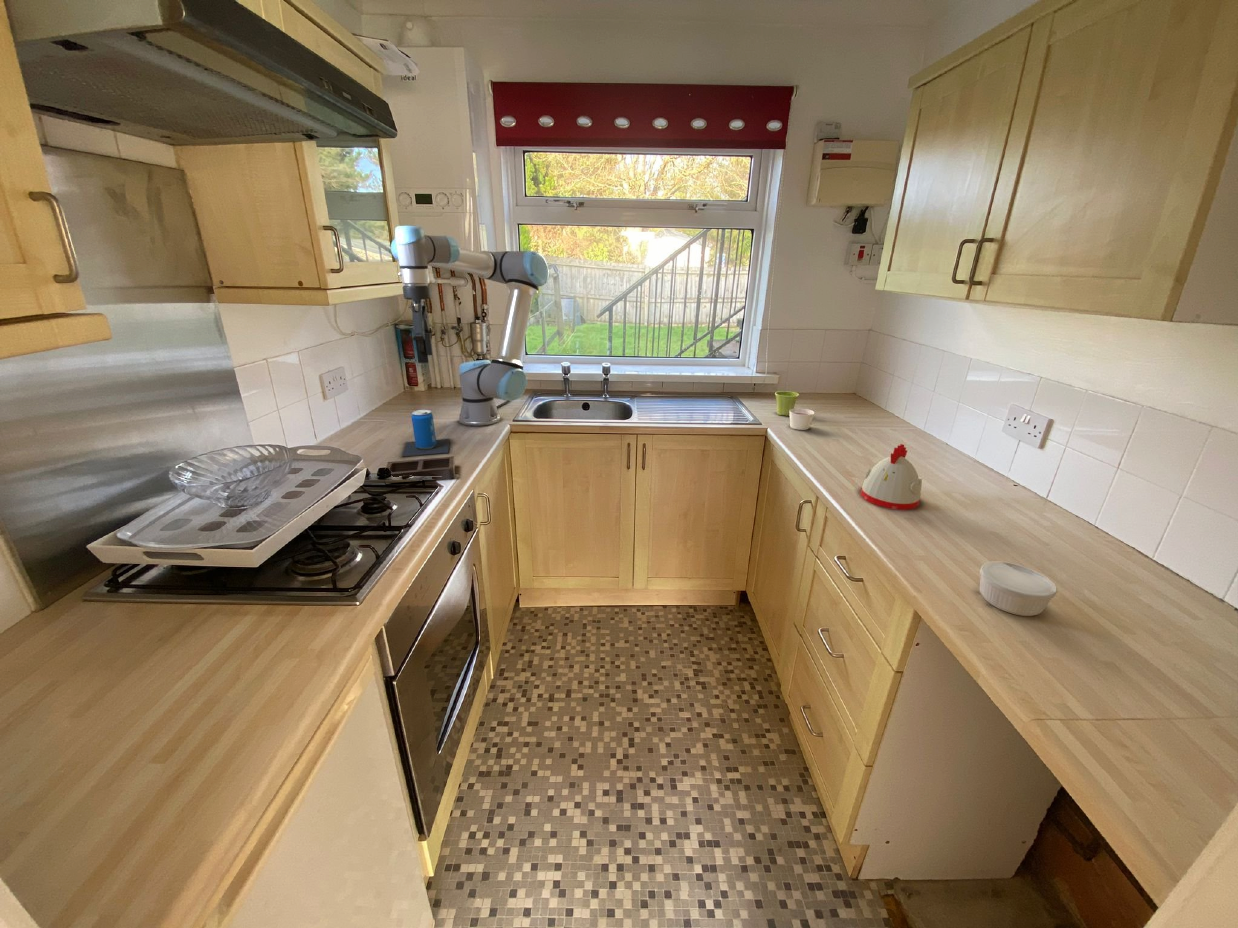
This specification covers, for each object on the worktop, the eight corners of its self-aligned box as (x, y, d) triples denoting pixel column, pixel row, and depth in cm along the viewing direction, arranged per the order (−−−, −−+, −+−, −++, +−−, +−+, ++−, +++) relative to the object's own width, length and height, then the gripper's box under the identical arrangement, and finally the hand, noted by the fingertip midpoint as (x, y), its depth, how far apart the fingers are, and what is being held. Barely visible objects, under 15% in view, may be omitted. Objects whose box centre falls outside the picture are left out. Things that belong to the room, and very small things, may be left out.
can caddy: (389, 472, 149) (387, 461, 148) (455, 466, 154) (453, 456, 153) (385, 485, 140) (383, 474, 139) (454, 478, 145) (453, 468, 144)
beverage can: (430, 451, 165) (425, 415, 161) (412, 449, 166) (406, 414, 162) (440, 444, 171) (436, 410, 166) (422, 443, 172) (418, 408, 168)
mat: (406, 443, 173) (406, 442, 173) (449, 439, 177) (449, 438, 177) (402, 457, 161) (401, 456, 160) (448, 453, 164) (448, 452, 164)
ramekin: (1050, 600, 95) (1059, 576, 93) (1045, 629, 87) (1055, 604, 85) (979, 576, 102) (986, 554, 100) (968, 602, 94) (976, 578, 92)
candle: (810, 425, 197) (813, 409, 195) (813, 432, 189) (815, 415, 186) (786, 423, 199) (788, 407, 197) (787, 430, 191) (790, 413, 188)
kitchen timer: (851, 496, 137) (861, 443, 131) (875, 483, 145) (885, 433, 139) (905, 514, 127) (918, 458, 121) (927, 499, 135) (941, 446, 129)
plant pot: (767, 412, 213) (770, 392, 210) (785, 410, 217) (787, 390, 214) (783, 418, 205) (786, 397, 202) (801, 415, 209) (804, 395, 206)
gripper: (407, 283, 157) (417, 352, 165) (395, 286, 135) (407, 366, 143) (433, 283, 159) (441, 351, 167) (425, 286, 137) (435, 365, 144)
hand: (425, 358), depth 155 cm, fingers open, 13 cm apart
